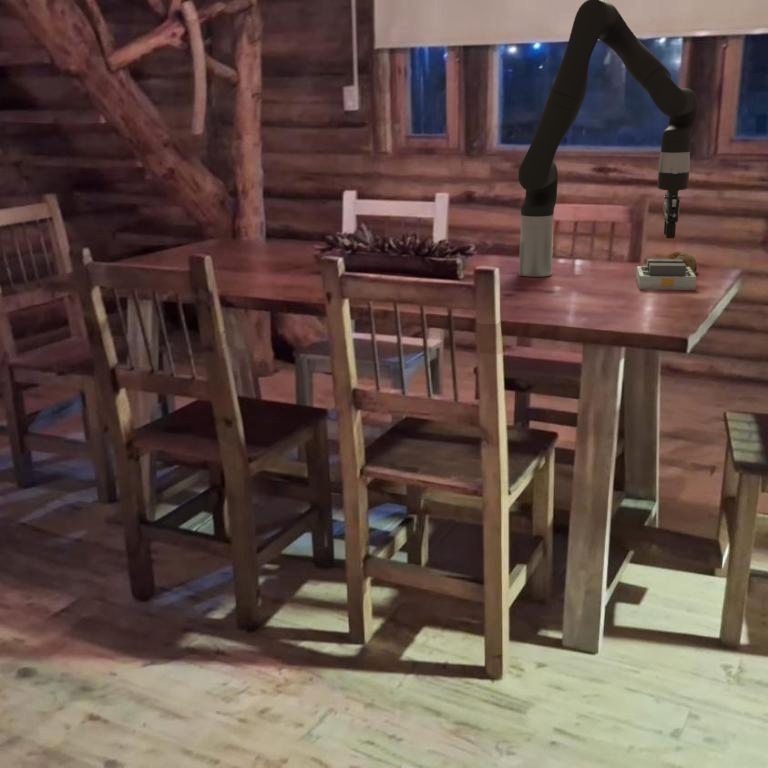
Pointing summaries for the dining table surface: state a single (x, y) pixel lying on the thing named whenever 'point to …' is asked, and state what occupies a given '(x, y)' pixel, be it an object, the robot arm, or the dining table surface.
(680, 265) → the panel
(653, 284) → the rack
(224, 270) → the dining table surface
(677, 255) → the bread roll
